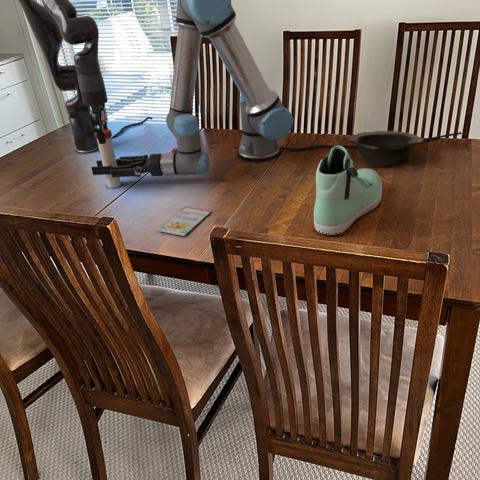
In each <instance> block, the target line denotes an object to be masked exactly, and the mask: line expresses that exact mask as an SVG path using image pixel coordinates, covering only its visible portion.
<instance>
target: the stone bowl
mask: <svg viewBox="0 0 480 480" xmlns="http://www.w3.org/2000/svg"><path fill="white" fill-rule="evenodd" d="M423 139H424V138H422V137H421V136H418V135H417V134H413V133H410V132H406V131H405V132H404V131H396V130H388V131H387V130H374V131H363V132H359V133H356V134H352V135H350V136H349V139H348V143H351V144H352V145H358V148H357V151H358V154H360V155H361V157H362V158H363V159H365V160H367V165H368V166H371V167H386V166H395V165H397V164H398V162H399V161H408V159H409V158H410V154H411V147H414V146H416V145H419V144H421V143H423V142H426V141H425V140H424V141H422V140H423Z"/></svg>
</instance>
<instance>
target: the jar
mask: <svg viewBox="0 0 480 480" xmlns="http://www.w3.org/2000/svg"><path fill="white" fill-rule="evenodd" d="M111 137H112V136H111ZM111 137H109V138H106V143H105V144H99V142H98V139H97V142H98V147H99V149H98V151H99V155H100V159H101V160H102V164H103V166H110V165H112V167H117V162H116V159H117V157H116V153H115V148H114V144H113V138H111ZM104 177H105V181H106V186H107V188H109V189H115V188H119V187H121V186H122V181H121V177H112V175H111V174H108V175H104Z"/></svg>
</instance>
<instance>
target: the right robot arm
mask: <svg viewBox="0 0 480 480" xmlns="http://www.w3.org/2000/svg"><path fill="white" fill-rule="evenodd" d="M176 2H177V3H176V15H175V24H176V25H177V28H178V29H177V39H176V46H175V55H174V63H173V65H174V66H173V73H172V74H173V75H172V82H171V83H172V84H171V92H170V102H169V110H168V111H169V112H168V113H167V114H166V117H165V123H166V125H167V129H168V130H169V131H170V132H171V133H172V135H173V136H174V138H175V140H176V144H177V146H176V147H178V151H177V152H174V153H172V152H163V153H150V154H149V155H148V154H143V155H127V156H126V155H125V156H119V158H116V162H117V167H112V165H110V166H103V164H102V160H96V161H95V162H96V165H97V166H91V172H92V175H93V176H105V175H108V174H111V175H112V177H120V178H141V177H142V174H147V173H149V174H150V175H151V176H152V177H163V176H165V177H170V176H171V177H175V176H198V175H199V176H200V175H205V174H207V173H209V171H210V157H209V153H208V151H204V150H203V149H202V145H201V137H200V125H199V121H198V118H197V116H196V115H195V114H192V113H193V106H194V105H193V104H194V97H195V90H196V81H197V75H198V74H197V73H198V67H199V59H200V58H199V57H200V51H201V45H202V39H203V38H206V39H209V40H210V42H211V43H212V46H213V47H214V49H215V50H216V52H217V54H218V56H219V57H220V60H221V62H222V63H223V64H224V67H225V68H226V70H227V72H228V74H229V75H230V77H231V78H232V80H233V83H234V84H235V86H236V88H237V90H238V91H239V93H240V97H239V105H240V106H239V107H240V120H241V133H242V134H241V139H240V142H239V147H238V157H240V158H241V159H243V160H246V161H250V162H262V161H268V160H272V159H275V158H276V157H278V156H279V155H280V150H286V151H287V150H292V151H303V150H304V151H305V150H308V149H309V150H310V149H315V148H333V147H334V146H342V147H344V148H345V149H348V148H349V149H353V148H354V149H356V148H357V149H358V145H356V144H352V145H348V144H347V145H346V144H345V145H342V144H341V145H340V144H339V145H337V144H316V145H309V146H304V147H289V146H288V147H287V146H286V147H285V146H279V143H278V142H280V141H282V140H284V139H285V138H286V137H287V136H288V135H289V134H290V133H291V131H292V129H293V126H294V116H293V114H292V113H291V111H290V110H289V108H286V107H285V105H284V104H283V102H282V100H281V99H280V96H279V94H278V92H277V91H275V90H271V89H270V88H269V86H268V84H267V82H266V80H265V77H264V76H263V74H262V72H261V71H260V68H259V67H258V65H257V63H256V61H255V59H254V57H253V55H252V53H251V51H250V50H249V48H248V46H247V44H246V42H245V40H244V39H243V36H242V35H241V33H240V29H239V28H238V27H237V25H236V18H237V13H236V11H235V10H234V8H233V6H232V0H177V1H176ZM460 135H462V131H458V132H454V133H448V134H442V135H437V136H432V137H427V138H422V139H423V140H422V141H423V142H427V141H433V140H438V139H442V138H447V137H455V136H460ZM424 140H425V141H424ZM178 152H179V153H178Z"/></svg>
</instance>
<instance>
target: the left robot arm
mask: <svg viewBox="0 0 480 480" xmlns="http://www.w3.org/2000/svg"><path fill="white" fill-rule="evenodd" d="M17 1H18V3H19V4H20V7H21V9H22V11H23V13H24V15H25V17H26V20H27V22H28V24H29V27H30V29H31V32H32V34H33V36H34V39H35V40H36V42H37V44H38V46H39V48H40V50H41V53H42V54H43V57H44V58H45V61H46V63H47V66H48V70H49V72H50V74H51V77H52V79H53V82H54V84H55V86H56V88H57V89H58V90H59V91H60V92H73V91H76V95H75V96H73V97H71V98H69V99H67V100H65V102H64V106H65V110H66V114H67V115H66V116H67V118H68V122H69V126H70V130H71V133H72V137H73V142H74V147H75V148H76V149H75V150H76V152H77V153H80V154H87V153H92V152H96V151H97V150H98V151H99V147H98V142H99V144H105V143H106V139H105V135H104V129H109V128H108V121H109V118H108V115H107V109H106V103H108V101H109V98H108V94H107V89H106V85H105V80H104V77H103V74H102V69H101V64H100V60H99V38H100V36H99V35H100V33H99V32H100V31H99V27H98V24H97V21H96V20H95V19H94V18H93V17H92V16H89V15H81V16H78V11H77V9H76V7H75V6H74V4H73V3H72V2H71V1H70V0H41V3H42V4H41V3H39V2H37V0H17ZM63 42H65V43H66V44H68V45H72V46H76V45H82V44H84V45H83V48H82V50H80V51H78V52H77V53H75V54H73V62H74V64H66V65H61V64H60V62H59V56H60V55H59V54H60V51H61V48H62V45H63ZM148 120H153V117H151V116H147V117H146V118H144V119H143V120H142V121H139V122H135V123H131V124H127V125H125V126H123V127H122V128H121V129H120V130H119V131H117V132H116V134H114V135H112V136H111V138H112V139H114V138H116V137H118V136H119V135H120V134H122V133H123V131H124V130H126V129H128V128H131V127H136V126H139V125H142V124H144V123H146V122H147V121H148ZM94 133H97V137H98V142H97V139H96V138H95V135H94Z"/></svg>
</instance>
